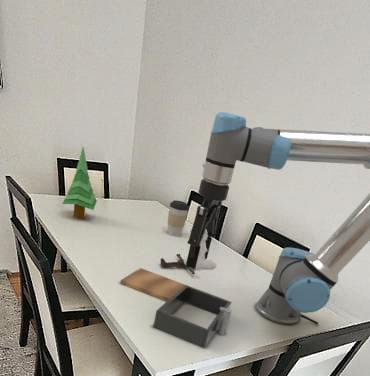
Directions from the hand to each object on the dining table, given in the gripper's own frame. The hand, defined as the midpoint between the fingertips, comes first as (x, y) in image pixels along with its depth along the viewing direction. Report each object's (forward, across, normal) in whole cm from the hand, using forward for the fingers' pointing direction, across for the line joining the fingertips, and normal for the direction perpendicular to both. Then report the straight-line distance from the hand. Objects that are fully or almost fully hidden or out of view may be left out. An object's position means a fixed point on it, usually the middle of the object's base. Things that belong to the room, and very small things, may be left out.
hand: (196, 262), depth 110 cm
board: (+17, -10, -15) cm, 25 cm away
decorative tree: (+18, -48, -73) cm, 89 cm away
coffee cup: (+18, -69, -34) cm, 78 cm away
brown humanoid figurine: (+18, -32, -16) cm, 40 cm away
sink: (+17, +3, +5) cm, 18 cm away
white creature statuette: (+1, 0, 0) cm, 1 cm away
